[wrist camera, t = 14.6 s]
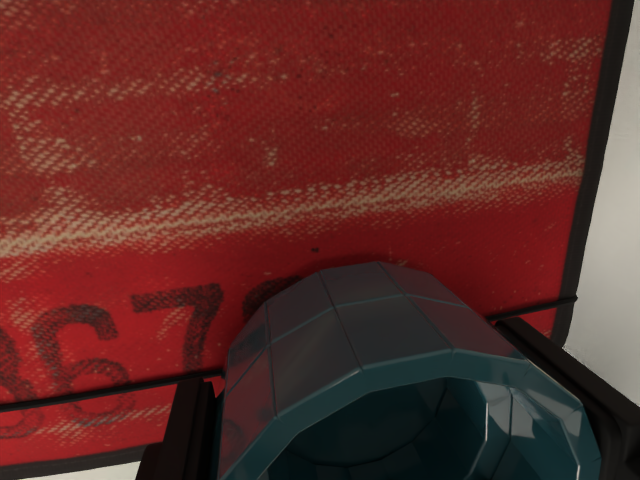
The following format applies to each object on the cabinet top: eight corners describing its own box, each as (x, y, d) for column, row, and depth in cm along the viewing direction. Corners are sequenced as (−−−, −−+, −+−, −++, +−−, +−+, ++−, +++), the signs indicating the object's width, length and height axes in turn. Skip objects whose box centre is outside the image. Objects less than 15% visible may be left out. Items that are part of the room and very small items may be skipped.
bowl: (474, 234, 11) (625, 315, 6) (471, 448, 13) (580, 613, 9) (195, 279, 10) (154, 406, 5) (244, 501, 12) (242, 713, 8)
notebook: (-861, -404, 5) (707, -311, 7) (-508, -246, 7) (603, -220, 10) (-160, 538, 10) (578, 386, 13) (-89, 460, 12) (531, 345, 15)
